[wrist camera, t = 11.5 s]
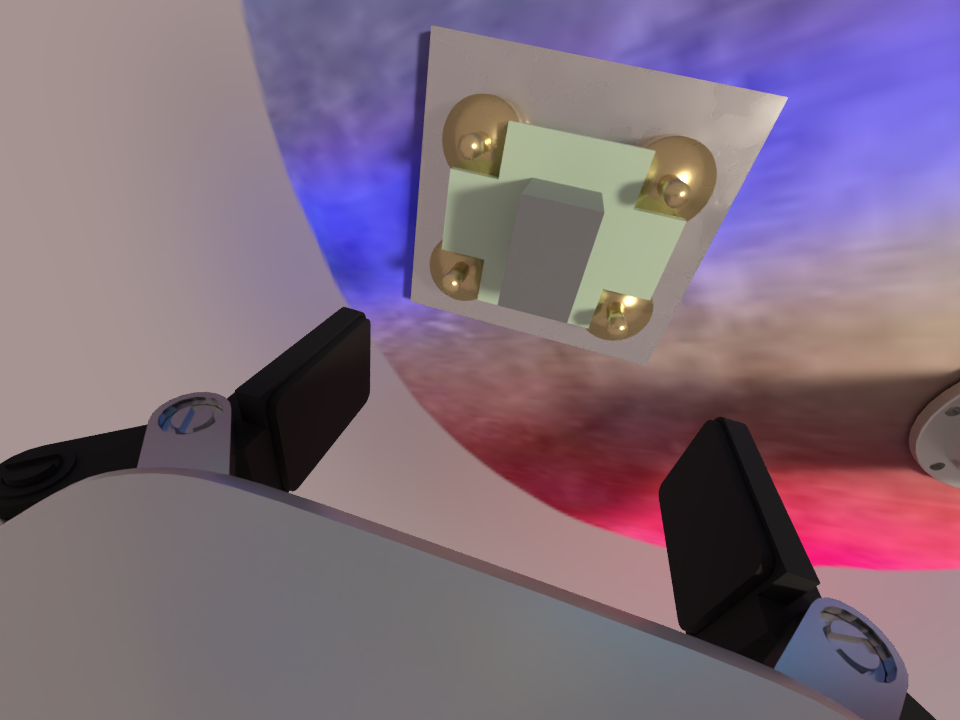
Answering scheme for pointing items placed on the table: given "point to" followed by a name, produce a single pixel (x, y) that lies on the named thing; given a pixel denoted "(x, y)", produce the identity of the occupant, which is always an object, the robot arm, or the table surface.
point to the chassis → (591, 112)
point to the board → (574, 164)
